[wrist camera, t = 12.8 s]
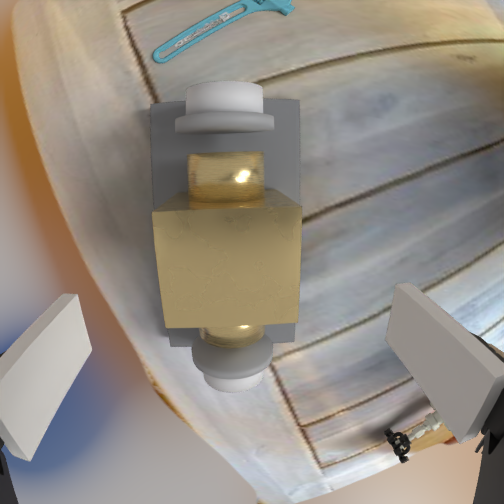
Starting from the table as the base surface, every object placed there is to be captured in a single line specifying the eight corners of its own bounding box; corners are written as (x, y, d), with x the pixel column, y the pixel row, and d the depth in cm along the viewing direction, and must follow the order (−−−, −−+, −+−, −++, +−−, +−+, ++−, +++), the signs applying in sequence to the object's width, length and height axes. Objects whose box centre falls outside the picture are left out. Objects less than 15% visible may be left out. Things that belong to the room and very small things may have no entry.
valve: (445, 376, 36) (379, 425, 38) (468, 403, 30) (395, 456, 31) (452, 396, 38) (392, 440, 39) (472, 422, 32) (407, 469, 33)
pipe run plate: (295, 102, 25) (328, 78, 16) (291, 333, 31) (312, 394, 22) (154, 106, 24) (120, 84, 15) (172, 338, 30) (157, 400, 21)
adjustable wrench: (272, -30, 20) (304, 6, 21) (271, -25, 21) (301, 10, 22) (139, 40, 21) (168, 79, 23) (142, 44, 22) (170, 82, 23)
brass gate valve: (275, 152, 24) (302, 150, 16) (275, 301, 28) (295, 361, 20) (175, 155, 24) (148, 156, 15) (186, 305, 28) (172, 366, 19)
